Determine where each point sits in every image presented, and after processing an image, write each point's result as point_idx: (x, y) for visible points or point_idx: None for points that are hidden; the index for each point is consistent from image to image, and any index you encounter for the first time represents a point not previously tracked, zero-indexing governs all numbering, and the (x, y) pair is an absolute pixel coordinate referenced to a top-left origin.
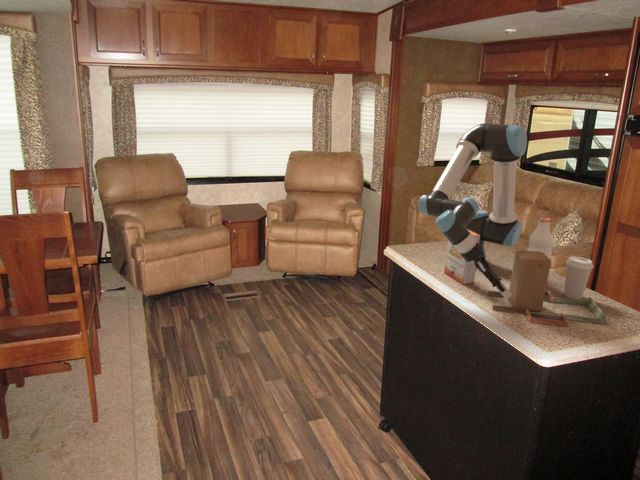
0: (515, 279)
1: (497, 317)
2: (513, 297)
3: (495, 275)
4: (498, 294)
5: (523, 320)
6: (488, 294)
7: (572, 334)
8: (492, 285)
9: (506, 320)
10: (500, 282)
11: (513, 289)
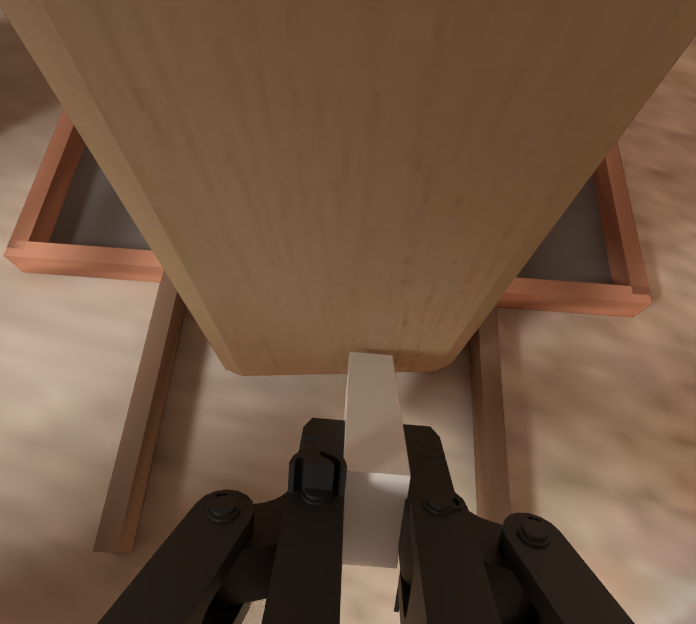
0: (397, 256)
1: (663, 560)
2: (402, 349)
3: (339, 581)
4: (149, 444)
5: (622, 349)
6: (131, 547)
7: (693, 128)
8: (395, 608)
9: (689, 487)
10: (458, 497)
11: (369, 322)
